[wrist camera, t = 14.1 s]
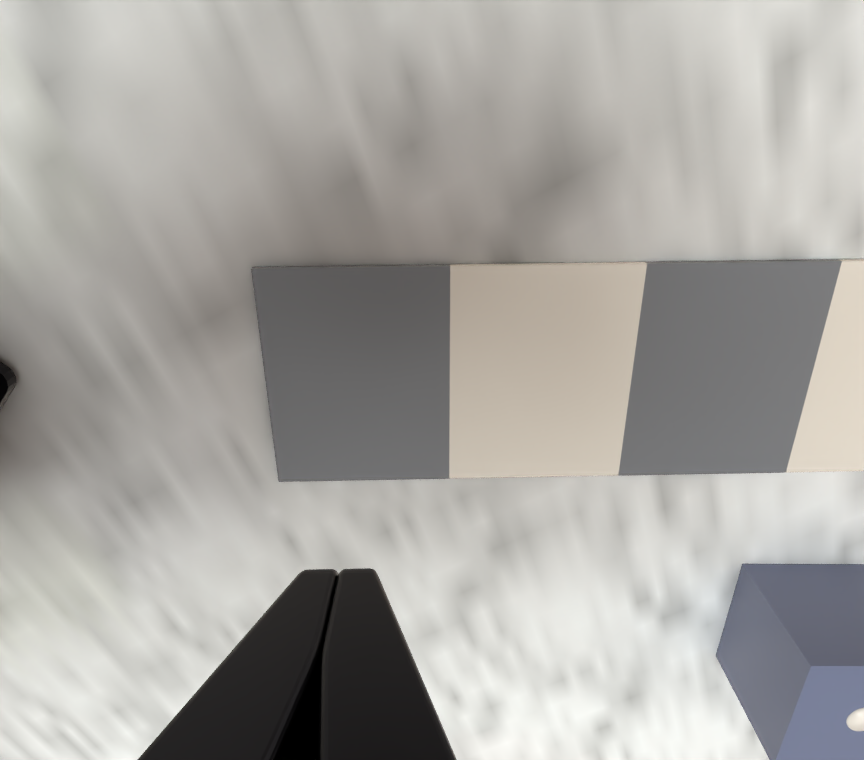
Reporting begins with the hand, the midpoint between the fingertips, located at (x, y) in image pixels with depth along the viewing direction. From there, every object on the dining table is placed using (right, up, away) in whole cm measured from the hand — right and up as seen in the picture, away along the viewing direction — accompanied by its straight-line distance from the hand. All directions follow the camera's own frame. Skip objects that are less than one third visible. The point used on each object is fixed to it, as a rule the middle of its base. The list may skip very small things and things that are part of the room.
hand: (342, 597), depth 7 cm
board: (+10, +3, +12) cm, 16 cm away
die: (+14, -6, +16) cm, 23 cm away
